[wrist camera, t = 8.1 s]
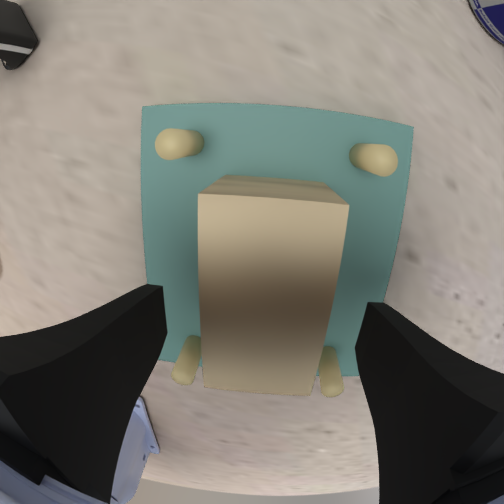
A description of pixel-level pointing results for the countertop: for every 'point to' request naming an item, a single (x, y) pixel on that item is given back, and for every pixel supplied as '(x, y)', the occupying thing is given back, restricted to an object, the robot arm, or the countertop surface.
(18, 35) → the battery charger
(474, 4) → the energy drink
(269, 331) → the oak bar
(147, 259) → the plate
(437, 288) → the countertop surface
